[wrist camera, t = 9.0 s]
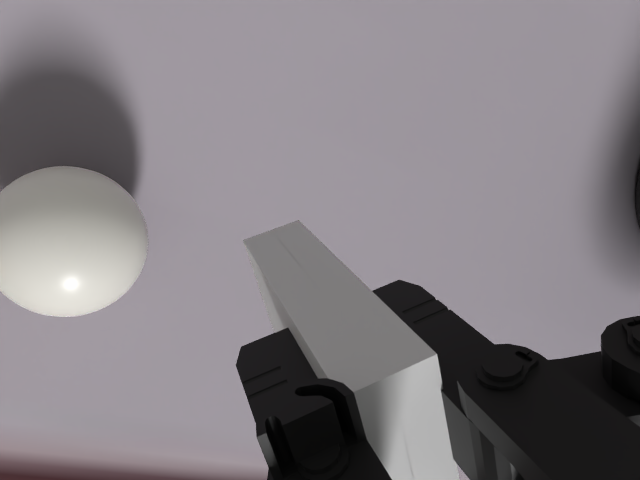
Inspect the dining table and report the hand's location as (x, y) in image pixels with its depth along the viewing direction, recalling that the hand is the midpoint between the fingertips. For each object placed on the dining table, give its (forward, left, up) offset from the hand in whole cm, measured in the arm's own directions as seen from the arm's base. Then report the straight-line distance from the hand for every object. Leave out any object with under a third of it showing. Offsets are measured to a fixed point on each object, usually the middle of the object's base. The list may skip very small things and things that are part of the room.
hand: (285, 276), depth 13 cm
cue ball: (+6, 0, -8) cm, 10 cm away
